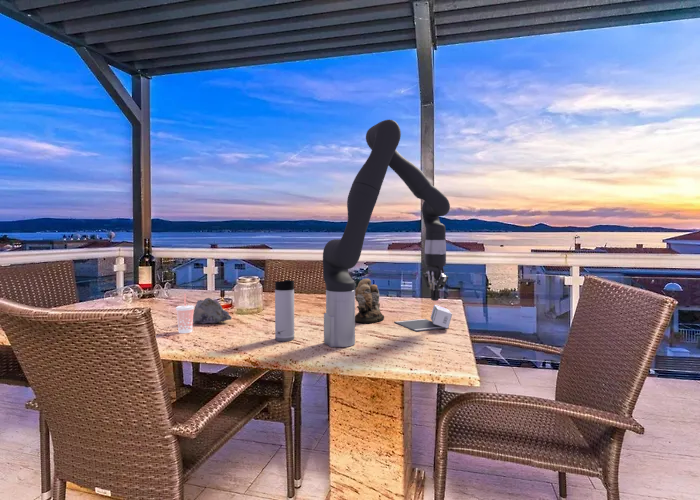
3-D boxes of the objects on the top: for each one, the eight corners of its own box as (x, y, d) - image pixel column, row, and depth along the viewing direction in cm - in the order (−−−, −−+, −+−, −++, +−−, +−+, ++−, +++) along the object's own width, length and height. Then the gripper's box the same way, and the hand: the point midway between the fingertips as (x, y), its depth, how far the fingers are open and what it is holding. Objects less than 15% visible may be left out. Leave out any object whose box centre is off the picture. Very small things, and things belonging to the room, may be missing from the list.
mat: (416, 331, 147) (416, 330, 147) (394, 322, 162) (394, 321, 162) (448, 328, 153) (448, 326, 153) (424, 319, 167) (424, 318, 167)
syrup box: (452, 313, 148) (448, 309, 163) (436, 308, 149) (434, 304, 164) (448, 328, 149) (444, 322, 163) (432, 323, 149) (430, 318, 164)
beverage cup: (197, 331, 147) (197, 292, 146) (180, 334, 142) (180, 294, 142) (189, 328, 151) (189, 290, 150) (173, 331, 146) (172, 292, 146)
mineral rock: (233, 323, 161) (233, 297, 160) (209, 328, 152) (209, 301, 151) (212, 319, 168) (212, 294, 168) (189, 323, 159) (188, 298, 159)
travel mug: (278, 342, 132) (278, 280, 131) (272, 338, 138) (272, 278, 137) (297, 340, 135) (297, 279, 134) (290, 336, 141) (290, 277, 140)
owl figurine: (375, 325, 157) (375, 281, 156) (346, 323, 161) (346, 280, 160) (388, 316, 174) (388, 276, 173) (362, 314, 178) (361, 275, 177)
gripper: (416, 251, 153) (416, 298, 153) (437, 253, 140) (436, 304, 141) (433, 251, 155) (433, 297, 156) (455, 253, 143) (454, 302, 144)
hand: (434, 300), depth 149 cm, fingers closed
